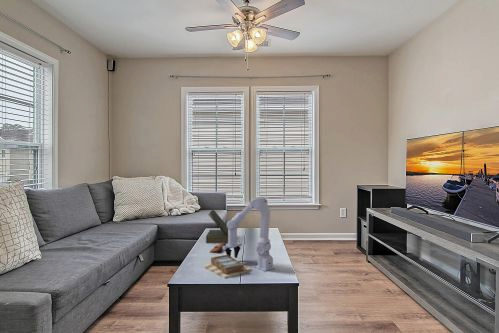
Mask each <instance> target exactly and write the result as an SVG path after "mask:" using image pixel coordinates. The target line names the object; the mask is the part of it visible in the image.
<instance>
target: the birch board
mask: <svg viewBox="0 0 499 333" xmlns="http://www.w3.org/2000/svg"><path fill="white" fill-rule="evenodd" d="M202 267H203V268H204V269H206V270H208V271H210V272H212V273H214V274H216V276H219V277H221V278H223V279H227V278H230V277H231V278H232V277H234V276H237V275H241V274H244V273H248V272H250V271H252V268H250V267H248V266H246V265H244V271H239V272H234V273H229V274H225V273H223V272H222V271H221V270H219V269H218V268H217V267H216V266H214V265H213V264H212V263H211V262H210V263H206V264H203V265H202Z"/></svg>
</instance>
